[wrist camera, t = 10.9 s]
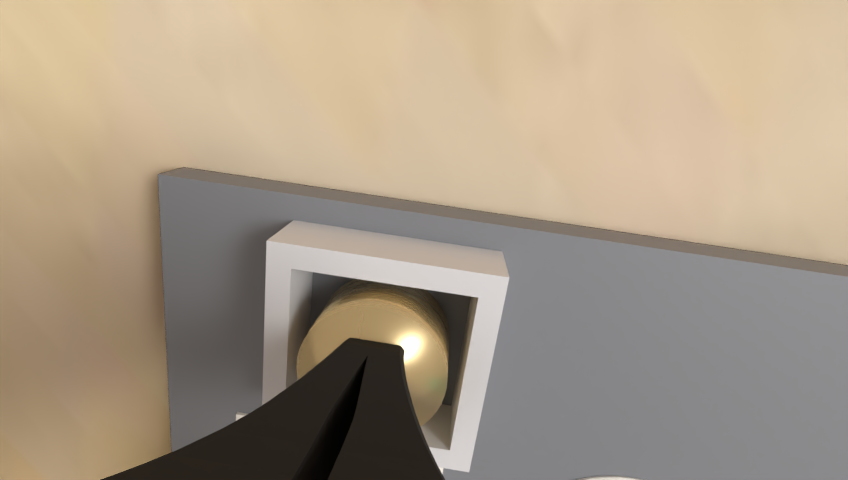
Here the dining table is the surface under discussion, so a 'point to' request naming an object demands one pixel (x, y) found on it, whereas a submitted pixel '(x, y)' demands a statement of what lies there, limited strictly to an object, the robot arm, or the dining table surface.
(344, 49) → the dining table surface
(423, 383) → the button
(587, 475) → the board
